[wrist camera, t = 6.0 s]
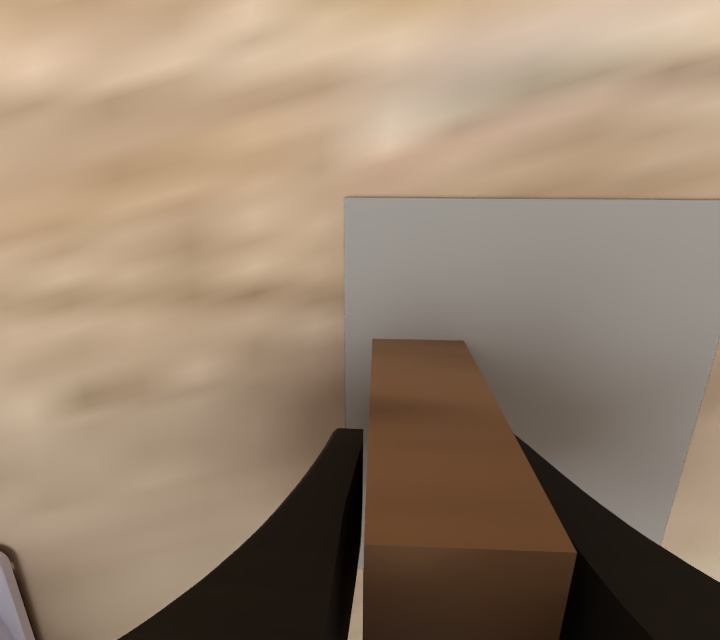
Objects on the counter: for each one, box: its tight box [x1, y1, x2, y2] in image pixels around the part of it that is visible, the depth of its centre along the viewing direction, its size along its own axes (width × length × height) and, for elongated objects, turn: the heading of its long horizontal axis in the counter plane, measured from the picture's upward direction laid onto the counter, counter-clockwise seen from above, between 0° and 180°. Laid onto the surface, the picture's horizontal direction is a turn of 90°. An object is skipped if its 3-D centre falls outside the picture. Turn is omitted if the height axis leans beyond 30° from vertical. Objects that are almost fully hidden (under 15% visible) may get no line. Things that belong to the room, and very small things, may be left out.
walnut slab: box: [363, 339, 577, 640], centre depth 9 cm, size 5×2×7 cm, turn 0°
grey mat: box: [344, 197, 720, 569], centre depth 12 cm, size 12×10×1 cm
